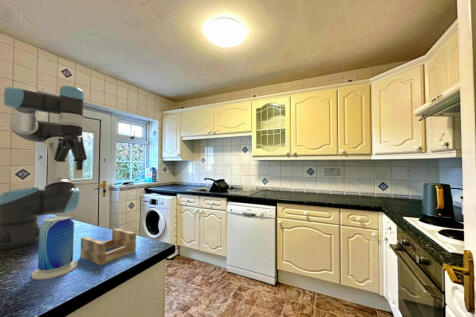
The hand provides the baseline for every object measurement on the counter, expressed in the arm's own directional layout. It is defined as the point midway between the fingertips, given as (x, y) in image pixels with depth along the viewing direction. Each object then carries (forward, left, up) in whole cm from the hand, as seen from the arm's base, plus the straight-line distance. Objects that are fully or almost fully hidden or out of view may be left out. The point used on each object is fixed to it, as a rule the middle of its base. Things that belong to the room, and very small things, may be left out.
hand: (69, 178), depth 81 cm
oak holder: (+18, +6, -29) cm, 34 cm away
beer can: (+15, -9, -28) cm, 33 cm away
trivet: (+15, -9, -29) cm, 34 cm away
